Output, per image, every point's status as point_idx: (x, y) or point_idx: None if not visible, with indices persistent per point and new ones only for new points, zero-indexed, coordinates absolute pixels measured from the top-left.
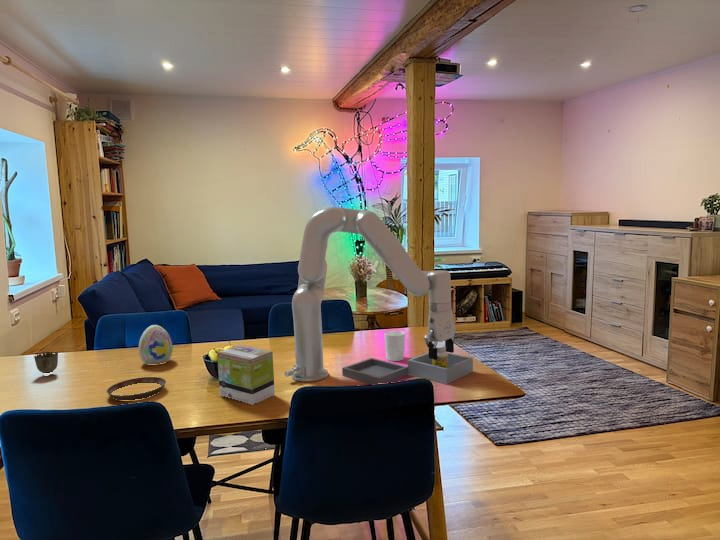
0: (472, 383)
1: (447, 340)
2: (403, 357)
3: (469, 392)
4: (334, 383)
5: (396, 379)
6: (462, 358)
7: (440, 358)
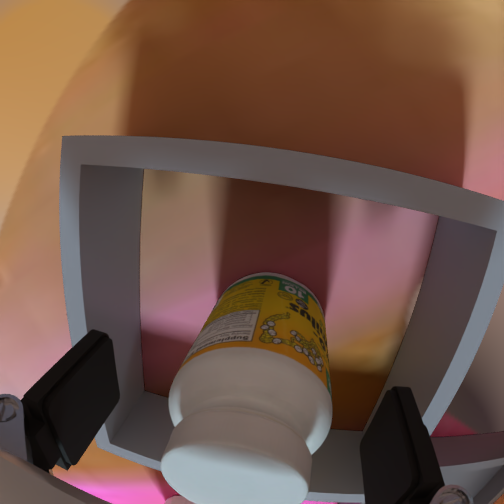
0: (352, 36)
1: (56, 456)
2: (186, 501)
3: (490, 24)
4: (500, 501)
5: (456, 436)
6: (88, 231)
7: (323, 378)
